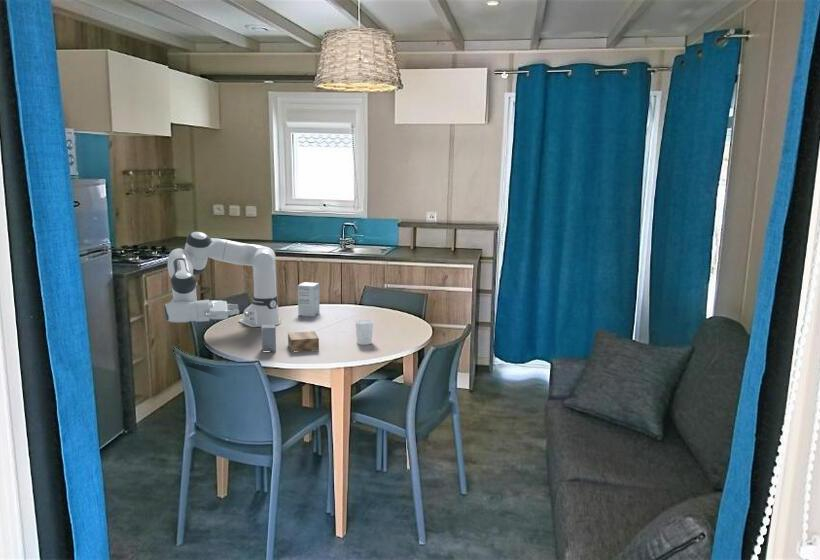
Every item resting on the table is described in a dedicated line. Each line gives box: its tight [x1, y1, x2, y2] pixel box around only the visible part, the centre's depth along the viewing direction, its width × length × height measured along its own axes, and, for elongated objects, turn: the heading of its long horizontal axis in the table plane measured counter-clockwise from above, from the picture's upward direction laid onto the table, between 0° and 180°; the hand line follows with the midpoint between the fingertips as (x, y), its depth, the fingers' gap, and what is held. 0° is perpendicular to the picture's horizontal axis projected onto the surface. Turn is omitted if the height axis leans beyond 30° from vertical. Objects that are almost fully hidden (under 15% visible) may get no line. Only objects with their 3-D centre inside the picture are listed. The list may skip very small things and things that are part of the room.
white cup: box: [355, 319, 374, 346], centre depth 294 cm, size 8×8×10 cm
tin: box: [260, 324, 277, 352], centre depth 280 cm, size 6×6×11 cm
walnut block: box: [287, 330, 320, 353], centre depth 285 cm, size 12×12×6 cm
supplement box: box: [297, 281, 321, 317], centre depth 348 cm, size 10×9×17 cm
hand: (238, 309), depth 274 cm, fingers open, 8 cm apart
